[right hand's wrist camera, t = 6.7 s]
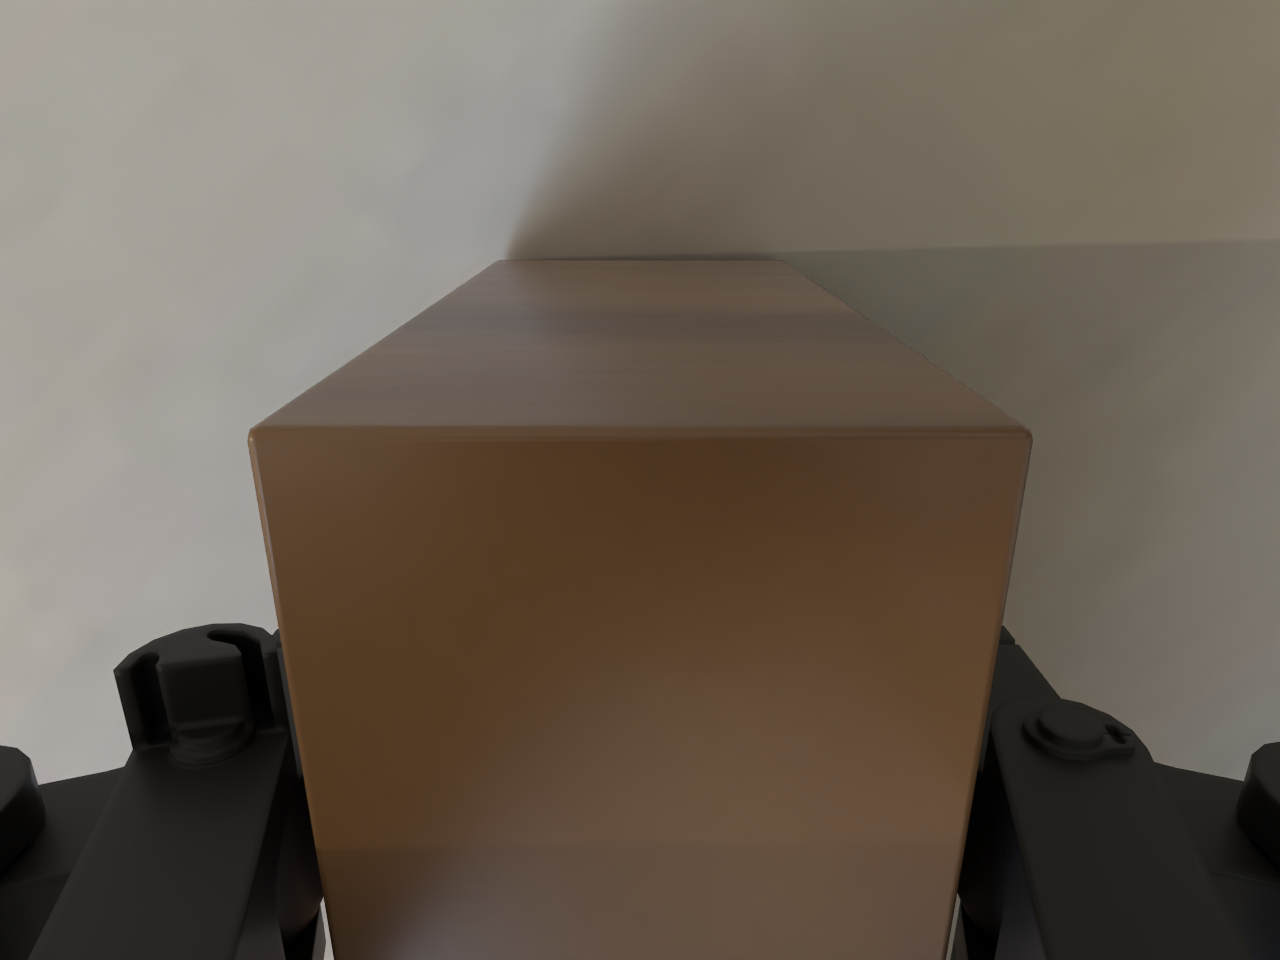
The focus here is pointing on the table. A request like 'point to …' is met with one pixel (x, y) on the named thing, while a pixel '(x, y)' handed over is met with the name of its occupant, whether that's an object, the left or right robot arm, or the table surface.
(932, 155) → the table surface
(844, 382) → the bar
